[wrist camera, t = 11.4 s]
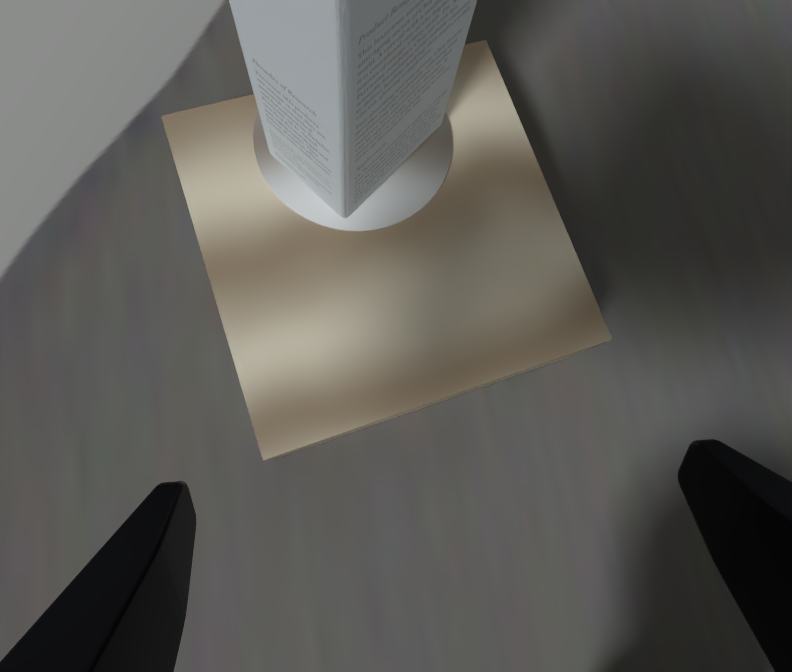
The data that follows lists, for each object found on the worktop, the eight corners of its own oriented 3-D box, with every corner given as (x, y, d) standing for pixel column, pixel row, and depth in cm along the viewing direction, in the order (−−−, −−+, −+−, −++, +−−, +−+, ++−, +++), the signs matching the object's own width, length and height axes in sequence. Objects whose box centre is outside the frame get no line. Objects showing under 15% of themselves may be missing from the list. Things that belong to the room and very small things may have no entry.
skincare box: (366, 61, 22) (393, -359, 11) (443, 127, 22) (556, -233, 11) (262, 155, 21) (164, -209, 9) (342, 226, 21) (343, -60, 9)
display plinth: (574, 354, 25) (614, 338, 21) (275, 458, 22) (262, 460, 19) (460, 74, 27) (478, 17, 23) (180, 143, 25) (153, 91, 21)
